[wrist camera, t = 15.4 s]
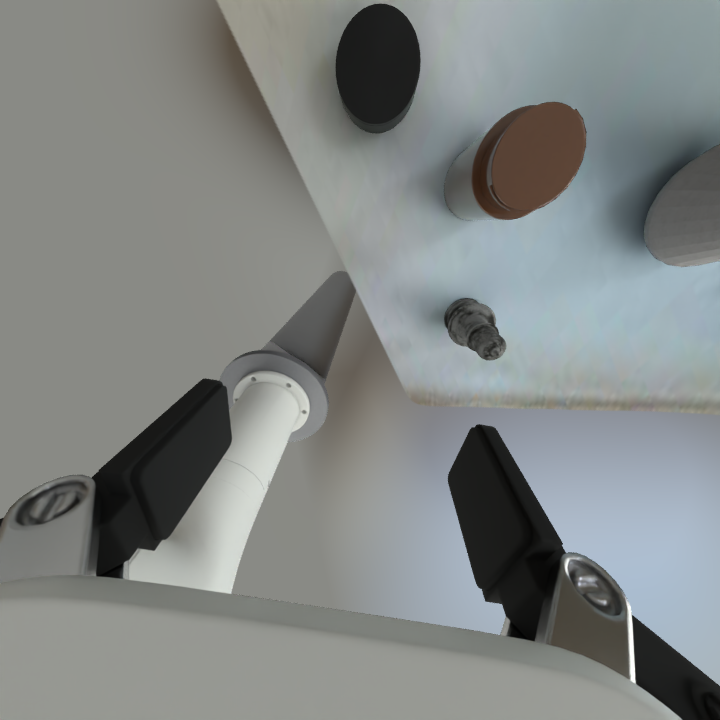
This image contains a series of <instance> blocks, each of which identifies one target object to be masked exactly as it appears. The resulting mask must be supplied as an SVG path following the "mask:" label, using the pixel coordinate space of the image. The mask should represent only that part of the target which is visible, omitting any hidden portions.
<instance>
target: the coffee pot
mask: <svg viewBox="0 0 720 720" xmlns="http://www.w3.org/2000/svg"><path fill="white" fill-rule="evenodd" d="M644 239H645V243H646V247H647V248H648V249H649V251H650V252H651V253H652V255H653V256H654V257H655V258H656V259H658V260H660V261H662V262H664V263H665V264H668V265H672V266H679V267H687V266H696V265H702V264H707V263H711V262H716V261H720V145H717V146H715V147H713V148H711V149H710V150H708V151H707V152H705V153H703V154H702V155H700V156H699V157H697V158H695V159H694V160H692V161H691V162H689V163H688V164H686V165H685V166H684V167H683V168H682V169H680V170H679V171H678V172H677V173H676V174H675V175H674V176H672V177H671V178H670V180H669V181H668V182H667V183H666V184H665V186H664V187H663V188H662V189H661V190H660V192H659V193H658V195H657V196H656V198H655V200H654V201H653V203H652V205H651V207H650V208H649V211H648V214H647V217H646V220H645V224H644Z"/></svg>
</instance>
